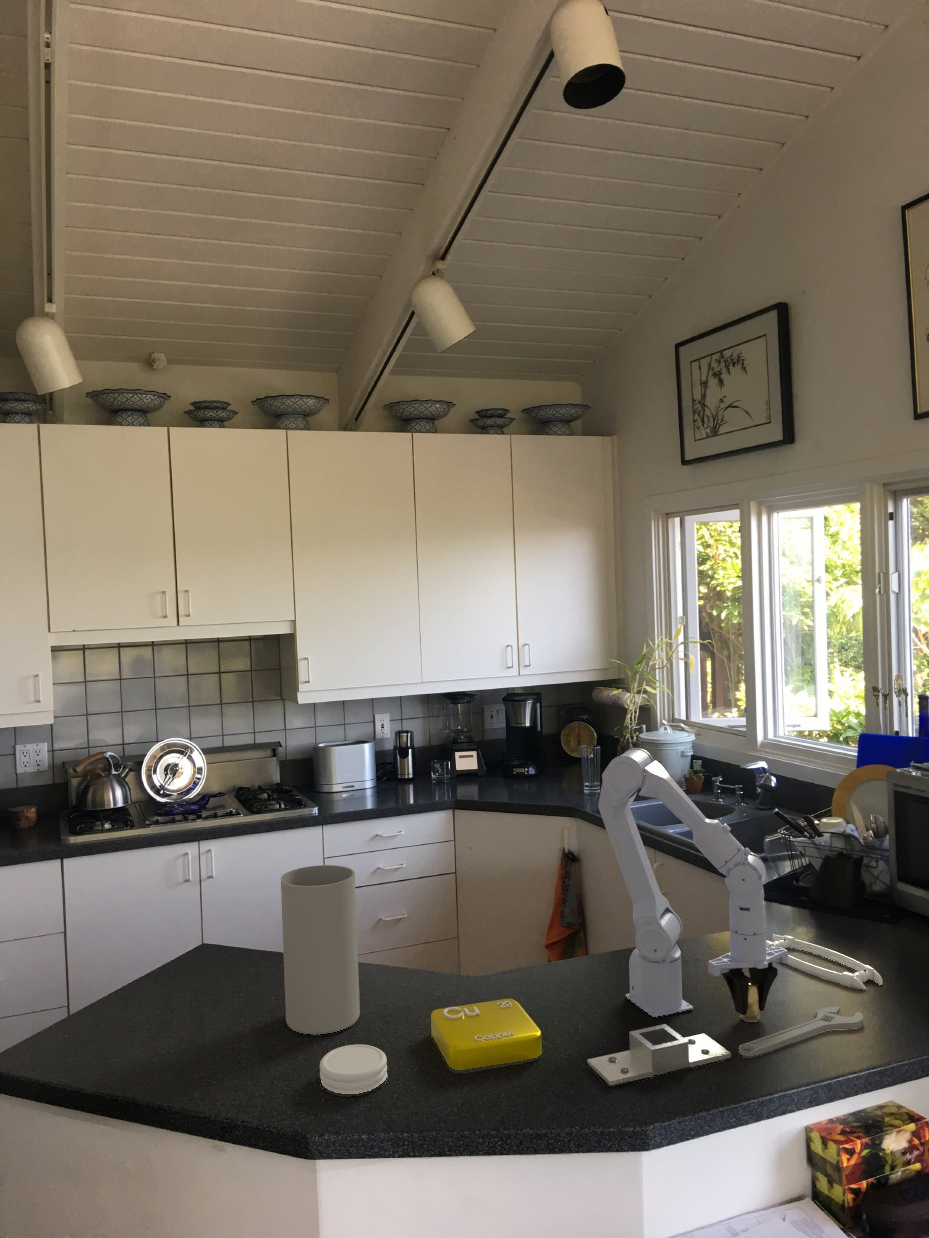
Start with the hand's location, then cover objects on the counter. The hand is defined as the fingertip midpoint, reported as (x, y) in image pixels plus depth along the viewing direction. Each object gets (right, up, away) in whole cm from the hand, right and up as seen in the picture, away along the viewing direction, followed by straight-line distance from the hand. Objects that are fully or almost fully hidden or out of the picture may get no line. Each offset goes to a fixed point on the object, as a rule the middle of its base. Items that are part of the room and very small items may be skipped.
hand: (749, 1010), depth 157 cm
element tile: (-44, -4, -6) cm, 45 cm away
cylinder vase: (-72, -4, +5) cm, 72 cm away
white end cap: (-64, -4, -16) cm, 66 cm away
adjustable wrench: (+6, -2, -6) cm, 8 cm away
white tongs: (+19, -1, +22) cm, 29 cm away
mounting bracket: (-18, -2, -14) cm, 23 cm away
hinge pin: (0, -1, 0) cm, 1 cm away
